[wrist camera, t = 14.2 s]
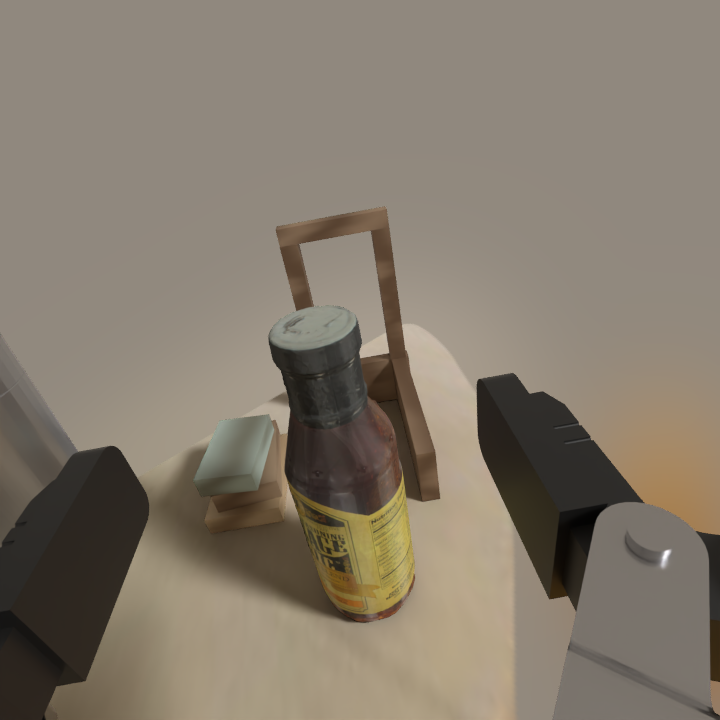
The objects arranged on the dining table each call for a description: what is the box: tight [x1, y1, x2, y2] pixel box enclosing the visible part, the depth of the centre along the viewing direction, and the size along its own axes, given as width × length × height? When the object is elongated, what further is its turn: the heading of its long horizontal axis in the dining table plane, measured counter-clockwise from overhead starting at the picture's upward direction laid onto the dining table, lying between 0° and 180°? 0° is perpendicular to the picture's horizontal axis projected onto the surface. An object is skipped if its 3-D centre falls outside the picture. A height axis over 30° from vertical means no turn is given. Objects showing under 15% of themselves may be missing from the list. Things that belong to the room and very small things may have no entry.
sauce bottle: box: [269, 306, 415, 622], centre depth 25 cm, size 6×6×20 cm
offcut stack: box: [193, 414, 288, 534], centre depth 38 cm, size 6×9×5 cm
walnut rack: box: [276, 207, 440, 501], centre depth 37 cm, size 10×15×20 cm, turn 5°
